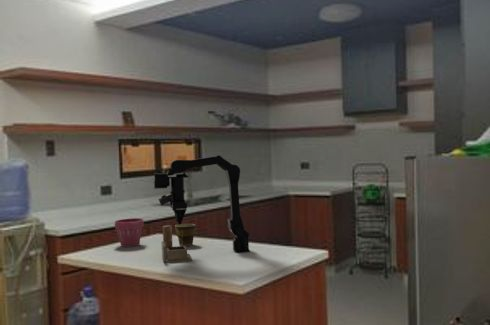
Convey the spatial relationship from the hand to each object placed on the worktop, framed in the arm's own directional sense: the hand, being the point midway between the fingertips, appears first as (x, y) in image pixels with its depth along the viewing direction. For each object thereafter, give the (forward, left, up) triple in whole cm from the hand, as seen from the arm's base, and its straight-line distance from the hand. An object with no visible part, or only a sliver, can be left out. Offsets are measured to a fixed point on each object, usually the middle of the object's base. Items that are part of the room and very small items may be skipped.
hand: (178, 223), depth 214 cm
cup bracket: (+2, +6, -15) cm, 16 cm away
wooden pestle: (+5, -4, -15) cm, 16 cm away
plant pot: (+22, -35, -15) cm, 44 cm away
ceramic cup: (-4, -23, -15) cm, 28 cm away
